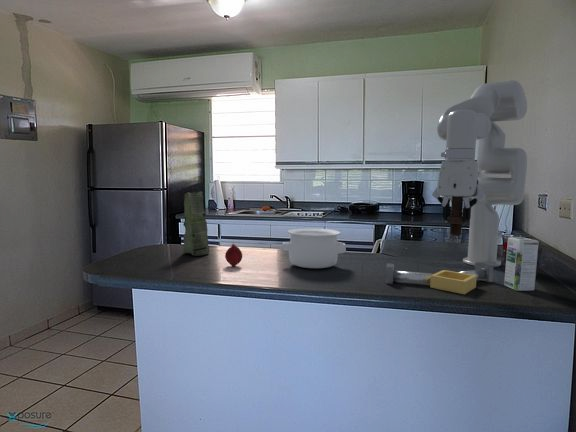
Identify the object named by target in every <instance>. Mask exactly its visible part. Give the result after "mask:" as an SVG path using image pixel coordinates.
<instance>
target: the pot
mask: <svg viewBox="0 0 576 432" xmlns="http://www.w3.org/2000/svg"><path fill="white" fill-rule="evenodd" d="M286 232H287V233H288V234H289V235H290V238H289V239H290V240H289V241H283V242H282V244H281V245H282V246H281V249H282V251H284V252H285V251H286V252H288V257H289V263H290V264H291V265H293V266H297V267H300V268H306V269H325V268H331V267H333V266H335V265H337V262H338V256H339V254H344V253H346V252H347V249H346V243H344V242H340V241H338V237H337V236H339V235H341V231H338V230H336V229H328V228H317V227H315V228H314V227H313V228H312V227H311V228H309V227H308V228H306V227H305V228H293V229H289V230H287V231H286Z"/></svg>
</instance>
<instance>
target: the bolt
mask: <svg viewBox="0 0 576 432" xmlns="http://www.w3.org/2000/svg"><path fill="white" fill-rule="evenodd" d="M453 187H454V188H455V187H456V184H453ZM450 203H451V204H450V206H451V216H448V217H447V221H446V223H448V224H450V225H449V234H450V236H452V237H455V236H456V237H461V236H462V233H463V232H462V230H463V229H462V227H463V225H464V224H465V223H466V222H462V217H463V208H464V203H465V202H464V197H454V196H452V198H451V201H450Z"/></svg>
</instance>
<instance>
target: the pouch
mask: <svg viewBox="0 0 576 432" xmlns="http://www.w3.org/2000/svg"><path fill="white" fill-rule="evenodd" d="M203 200H204V196H203V191H202V190H200V191H198V192H196V191H194V190H193V191H192V192H186V193H184V194H183V206H184V208H183V209H184V212H183V216H184V221H183V227H184V228H185V229H184V230H185V231H184V234H183V246H182V254H189V255H192V256H193V257H194V256H195V257H199V256H206V255H209V253H210V245H209V237H208V223H207V220H206V213H205V209H204V201H203Z"/></svg>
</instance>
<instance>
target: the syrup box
mask: <svg viewBox="0 0 576 432" xmlns="http://www.w3.org/2000/svg"><path fill="white" fill-rule="evenodd" d="M538 250H539V240H536V239H531V238H527V237H523V236H513V237H512V236H511V237H507V247H506V259H505V271H504V280H503V281H504V283H503V285H504V287H506V288H507V287H508V288H510V289H512V290H514V291H515V292H516V291H518V292H520V291H521V292H522V291H525V292H526V291H535V285H536V276H537V263H538V252H539V251H538Z"/></svg>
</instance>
